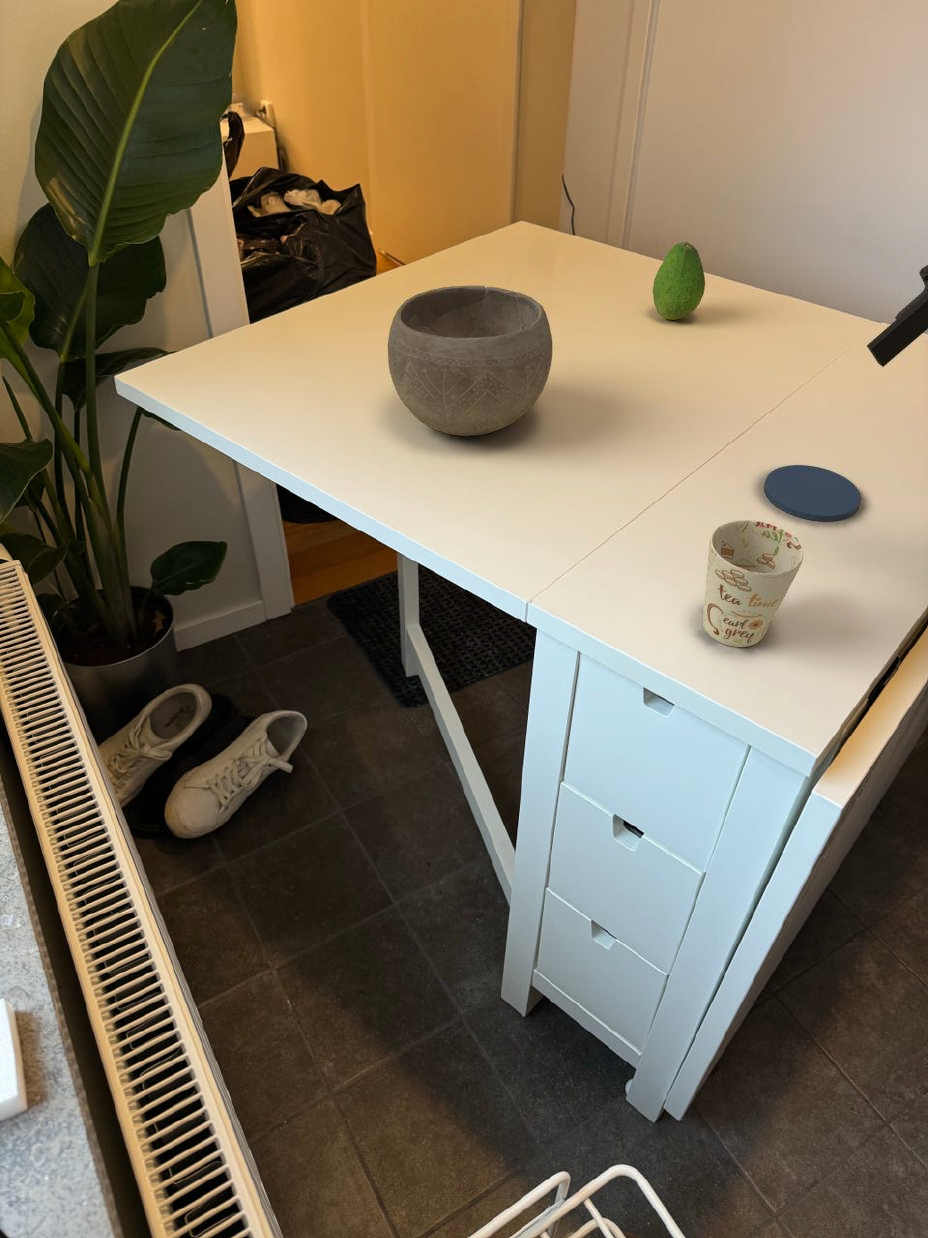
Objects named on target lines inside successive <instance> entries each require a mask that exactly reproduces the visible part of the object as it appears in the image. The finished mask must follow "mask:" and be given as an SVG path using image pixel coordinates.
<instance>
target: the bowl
mask: <svg viewBox="0 0 928 1238" xmlns="http://www.w3.org/2000/svg"><path fill="white" fill-rule="evenodd" d="M387 361H388V370H389V374H390V378H391V382H392V384H393V387H394V388H395V389H394V390H395V391H396V394H397V396H398V397H399V399H400V400H401V402H402V403H403V405H404V406H405V407H406V408H407V409H408V411H409V413H410V414H412V415H413V416H414V417H415V418H416V420H418V421H420V422H422V424H424V425H425V426H427V427H429V428H431V429H433V430H436V431H438V432H441V433H444V434H447V435H452V436H453V435H454V436H461V437H462V436H463V437H471V436H482V435H487V434H490V433H493V432H496V431H499V430H502V429H504V428H507V427H508V426H510V425H511V424H513V423H515V422H516V421H517V420H519V419H520V418H521V417H523V416H524V415H525V414H526V413H527V412H528V410H530V409H531V408H532V407H533V406H534V404H535V403H536V402H537V400H538V399H539V398H540V396H541V395H542V393H543V391H544V389H545V387H546V384H547V382H548V379H549V375H550V371H551V367H552V362H553V336H552V332H551V326H550V323H549V319H548V316H547V313H546V310H545V308H544V306H543V305H541V304H540V303H539V302H538V301H537V300H535V299H534V298H533V297H532V296H529V295H526V294H524V293H522V292H517V291H514V290H511V289H510V290H509V289H506V288H502V287H495V286H485V285H452V286H443V287H440V288H434V289H429V290H426V291H422V292H420V293H417V294H415V295H413V296H411V297H410V298H408V299H406V300H405V301H404V302H403V303H402V304H401V305H400V306H399V308H398V309H397V310H396V312H395V314H394V316H393V317H392V321H391V325H390V327H389V334H388V337H387Z"/></svg>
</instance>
